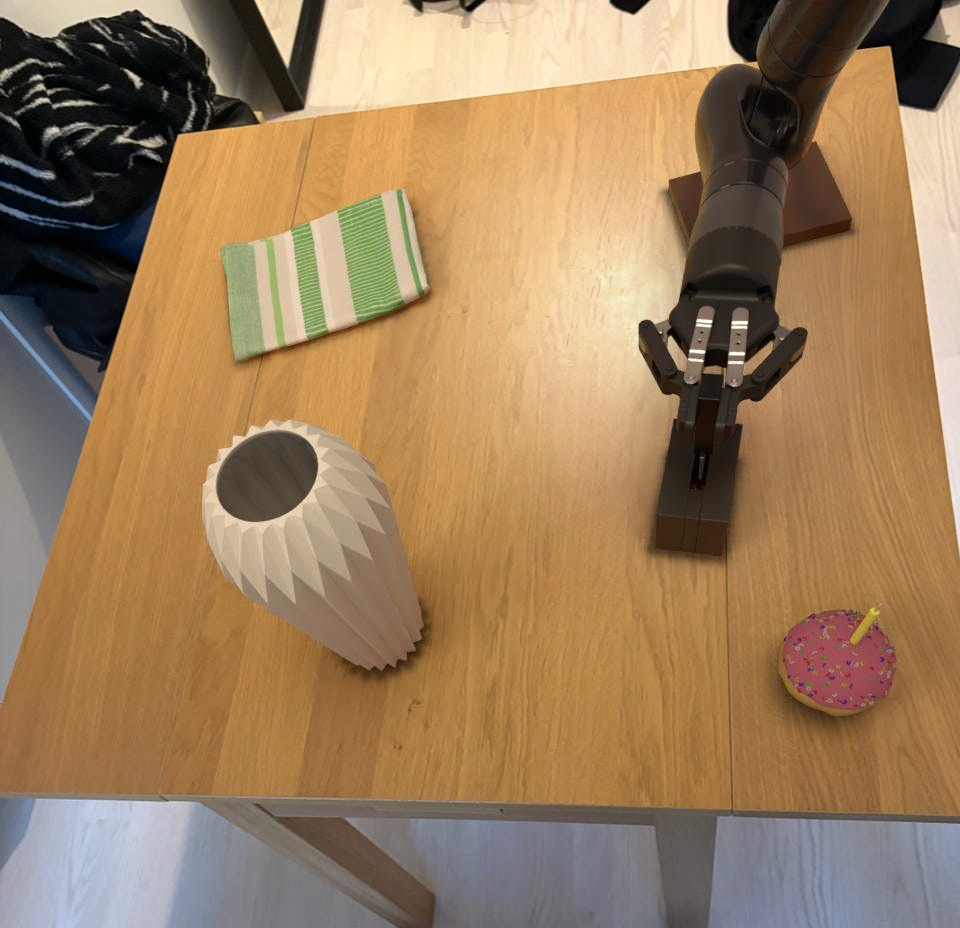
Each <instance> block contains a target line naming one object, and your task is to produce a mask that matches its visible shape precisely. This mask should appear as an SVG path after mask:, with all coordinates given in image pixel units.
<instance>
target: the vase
mask: <svg viewBox="0 0 960 928" xmlns="http://www.w3.org/2000/svg"><path fill="white" fill-rule="evenodd" d="M201 498H202V499H201V501H202V502H201V521H202V524H203V527H204V530H205V532H206V538H207V539H206V541H207V543H208V545H209V547H210V550H211V552H212V554H213V555H214V558H215V560H216V562H217V564H218V566H219V568H220V571H221V572H222V574H223V577H224V579H225V580H227V581H229V582H230V583H232V584H233V585H234V586H236V587H238V589H239V590H240V592H241V593H242V595H243V596H245V597H246V598H247V599H250V600H251V601H252V602H254V603H256V604H257V605H259V607H260V606H261V608H263V609H265V610H267V612H270V613H271V614H273V615H274V616H276V617H278V618H280V619H281V620H282V621H284V622H286V623H288V624H289V625H290V626H292V627H294V628H295V629H297V630H299V631H300V632H302V633H303V634H305V635H306V636H308V637H310V638H312V639H313V640H314V641H316V642H317V643H320V644H321V645H323V646H324V647H326V648H327V649H329V650H331V651H332V652H334V653H336V654H337V655H338V656H340V657H342V658H344V659H345V660H347V661H348V662H350V663H352V664H353V665H355V666H357V667H358V666H361V667H362V668H364V669H366V670H367V671H371V670H372V669H373V668H374V667H375V668H377V669H378V670H379V671H381V672H383V671H384V669H385V668H386V666H387V665H389V666H391V667H393V668H395V669H396V666H397V663H398V660H401V661H404V662H405V661H406V662H407V661H408V653H410V652H416V651H417V648H416V647H415V644H414V643H416V642H418V641H421V640H422V639H423V638H422V633H421V632H420V630H422V629H423V628H424V627H425V626H424V621H423V618H422V615H423V614H422V610H421V606H420V602H419V599H418V595H417V592H416V587H415V583H414V580H413V577H412V572H411V569H410V566H409V562H408V558H407V554H406V550H405V547H404V543H403V540H402V536H401V533H400V529H399V525H398V522H397V518H396V513H395V510H394V507H393V504H392V499H391V496H390V493H389V489H388V485H387V483H386V482H385V481H384V480H383V479H382V478H381V477H380V476H379V475H378V474H377V469H376V467H375V464H374V463H373V462H372V461H370V460H369V459H368V458H367V457H366V456H365V455H364V454H363V453H361V452H360V451H359V450H358V449H357V448H356V447H354V446H353V445H352V444H351V443H350V442H349V441H348V440H347V439H345V437H342V436H340V435H337V434H335V433H332V432H329V431H328V430H326V428H324V427H322V426H318V425H314V424H312V423H311V424H310V423H306V422H303V421H299V420H296V419H291V418H290V419H288V420H286V421H282V420H277V419H270V420H269V421H268V422H267V423H266V424H265V425H264V426H261V425H253V424H251V425H250V426H249V429H248V432H246V436H242V435H233V436H232V441H231V445H230V446H229V447H223V448H219V449H217V455H216V462H214V463H212V464H210V465H208V466H207V470H206V479H205V482H203V484H202V497H201Z"/></svg>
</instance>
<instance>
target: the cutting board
mask: <svg viewBox="0 0 960 928" xmlns="http://www.w3.org/2000/svg"><path fill="white" fill-rule="evenodd" d="M788 175H789V183H788V192H787V199H786V206H785V213H784V221H783V224H784V243H783V247H787V246H792V245H795V244H799V243H804V242H808V241H811V240H816V239H819V238H823V237H826V236H830V235H835V234H840V233H843V232H848V231H850V228H851V225H852V222H853V216H852V214H851V213H850V210H849V208H848V206H847V203H846V201H845V199H844V197H843V195H842V193H841V191H840V189H839V187H838V185H837V183H836V180H835V178H834V176H833V173H832V172H831V170H830V167H829V165H828V163H827V161H826V159H825V157H824V155H823V152H822V149H821V148H820V146H819V144H818V141H816V140H815V141H812V143H811V145H810V147H809V150H808V151H807V153H806V155H805V156H804V158H803V159H802V160H801V162H800V163H799V164H798V165H797V166H795V167H794V168H792V169H791V170H789V171H788ZM702 191H703V184H702V178H701V171H700V170H699V171H697V172H693V173H688V174H686V175H681V176H677V177H674V178H669V179H668V190H667V192H668V195H669V198H670V201H671V203H672V206H673V208H674V212H675V215H676V217H677V221H678V223H679V226H680V230H681V233H682V234H683V237H684V240H685V243H686V246H687V249H688V248H689V243H690V238H691V234H692V230H693V228H694V225H695V222H696V220H697V217H698V212H699V207H700V201H701V196H702Z"/></svg>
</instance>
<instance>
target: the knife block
mask: <svg viewBox="0 0 960 928" xmlns="http://www.w3.org/2000/svg"><path fill="white" fill-rule="evenodd" d="M676 425H677V417H676V418H673V420H672V425H671V431H670V436H669V441H668V447H667V453H666V458H665V463H664V469H663V475H662V479H661V486H660V492H659V496H658V501H657V506H656V507H657V508H656V514H655V532H654V533H655V536H654V548H655V549H661V550H669V551H677V552H685V553H697V554H702V555H711V556H723V554H724V547H725V544H726V543H725V542H726V536H727V534H728V527H729V522H730V516H731V510H732V509H731V508H732V503H733V495H734V490H735V489H734V488H735V481H736V475H737V469H738V468H737V467H738V462H739V461H738V460H739V453H740V447H741V441H742V434H743V428H744V424H743V423H735V429H734V433H733V434H732V436H731V437H724V438H723V444H717V443H715V445H714V451H713V455H706V458H705V467H704V475H703V483H702V487H703V489H701V490H697V488H696V489H695V488H693V486H697V484H698V475H699V465H700V456H701V454H694V453H693V445H694V437H693V441H684V434H683V433H678V431H677V428H676ZM694 434H695V431H694Z"/></svg>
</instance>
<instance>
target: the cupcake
mask: <svg viewBox="0 0 960 928" xmlns="http://www.w3.org/2000/svg"><path fill="white" fill-rule="evenodd" d="M882 604H883V603H882V602H878V604H877V605H876V607H871V608H870V609H869V610H868V612H867V614H866V615H865V614H864V613H861V611H860V610H855V612H854V610H853V609H849V610H846V609H845V608H844V607H843V608H840V609H833V610H827V611H826V610H822V611H821V612H818V613H811V614H810V615H808V616H807V617H806V618H804V619H803V620H801V621H800V622H797V623H796V624H795V625H794V626H793V627H791V628H790V629H789V630H788V632H787V634H786V635H785V637H784V638H783V641H782V643H781V646H780V651H779V657H778V667H777V668H778V673H779V675H780V677H781V679H782V681H783V684H784V686H785V689H786V690H787V692H788V693H789V694H790V695H791V697H793V698H795V700H797V701H799V702H801V703H802V704H804V705H806V706H808V707H810V708H812V709H816V710H818V711H821V712H823V713H826V714H828V715H830V716H832V717H847V716H852V715H856V714H858V713H861V712H863V711H865V710H868V709H869V708H871V707H873V706H874V705H876V704H878V703H880V702H881V701H883V700H884V699H885V698H886V697H887V696H888V694H889V693H890V690H891V688H892V684H893V679H894V677H895V673H896V670H897V668H898V666H899V662H898V658H897V655H896V648H895V647H894V645H893V643H892V642H891V640H890V639H889V638H890V637H889V634H887V632H886V630H883V629H882V628H881V627H880V626H879V625H878V622H876V619H877V618H878V616H879V614H880V613H881V611H880V608H881V606H882Z"/></svg>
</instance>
